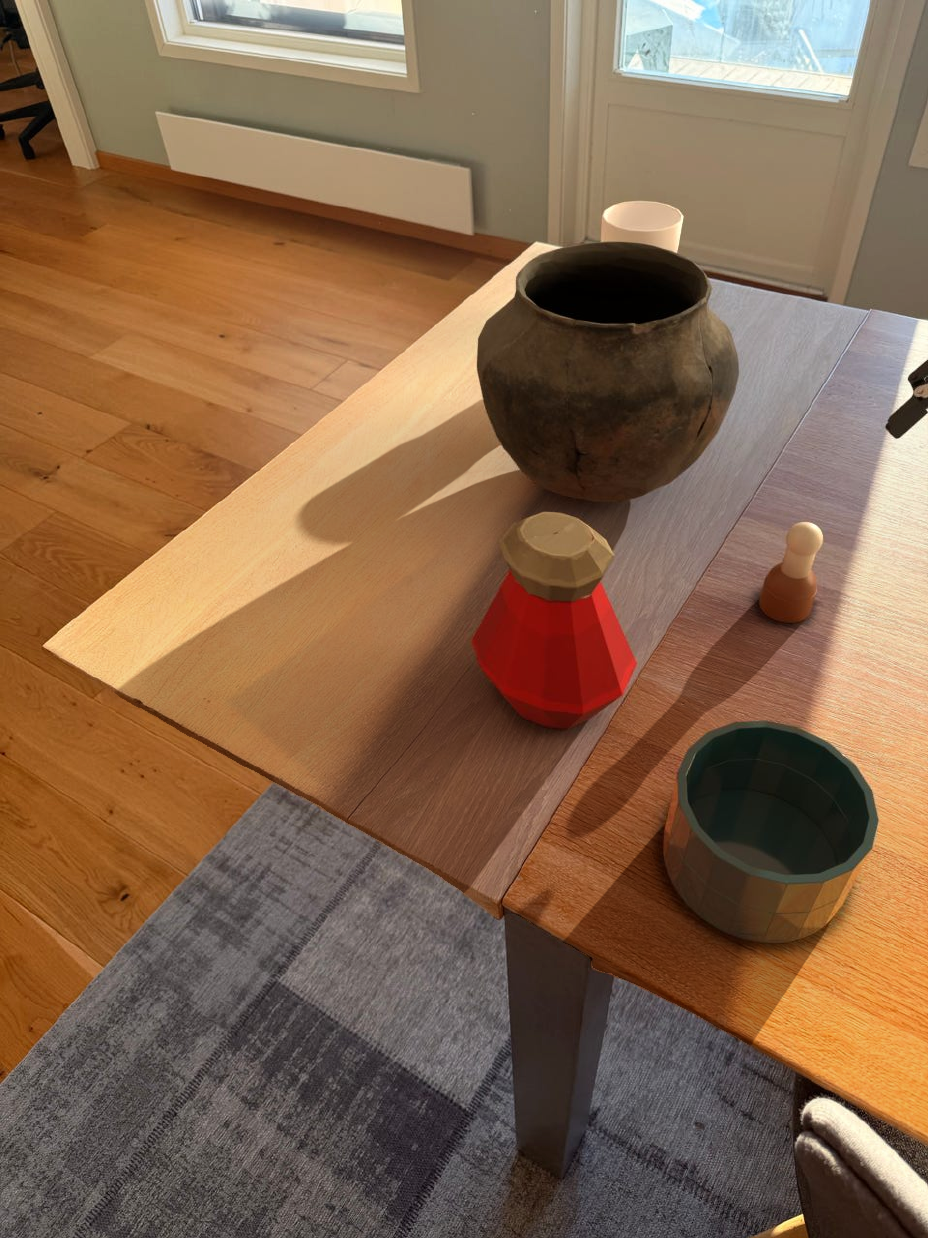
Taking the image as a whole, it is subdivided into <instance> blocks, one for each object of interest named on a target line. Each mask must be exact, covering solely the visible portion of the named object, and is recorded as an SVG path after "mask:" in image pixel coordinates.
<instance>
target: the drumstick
mask: <svg viewBox="0 0 928 1238" xmlns="http://www.w3.org/2000/svg"><path fill="white" fill-rule="evenodd" d="M823 543H824V536H823V533H822V530H821V528H820V527H819V526H817V525H816V524H814V523H812V522H809V521H801V522H798V523H795V524H794V525H792V526H791V527H790V528H789V529H788V531H787V533H786V536H785V544H786V548H785V551H784V554H783V558H782V561H780V562H778V563H777V564H775V565H774V566H773V567H772V568H771V569H770V570H769V571H768V573H767V575H766V576H765V578H764V581H763V584H762V588H761V592H760V594H759V595H760V596H759V599H758V605H759V608H760V610H761V612H762V613H763V614H764V615H766V616H767V618H770V619H772V620H774V621H777V622H781V623H787V624H795V623H799V622H802V621H804V620H806V619H807V618H808V617H809V615H810V613H811V610H812V607H813V604H814V602H815V598H816V595H817V592H818V587H817V586H818V582H817V577H816V574H815V573H814V571H813V570H812V567H813V563H814V560H815V557H816V555H817V552H819V550H820V549H821V547H822V545H823Z"/></svg>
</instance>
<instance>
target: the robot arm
mask: <svg viewBox="0 0 928 1238" xmlns="http://www.w3.org/2000/svg"><path fill="white" fill-rule="evenodd" d="M907 382H908V383H909V385H910V386H911V387H910V388H911V389H912V395H911V397H909V398H908V400H906V401H905V402H904V403H903V404H901V406H899V408H898V409H897V410H895V411H894V412H893V413H892V414H891V415H890V416H889V417H888V419H887V423H886V424H885V426H884V428H885V430H886V431H887V432H888V433H889V435H890V436H892V437H893V438H894V439H895V440H899V439H901V438H902V437H903V436H904V435H905V434H906V433H907V432H908V431H910V430H911V429H912V428H913V427H914V426H915V425H917V424H918V423H919V422H920V421H921V420H922V419H923V418H924V417H925V416H927V414H928V358H927V359H926V360H925V361H924V362H923V363H921V364H920V365H919V366H918V367H916V368H915V369H914V370H913V371H912V372H911V373H909V375H908V376H907Z"/></svg>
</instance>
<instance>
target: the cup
mask: <svg viewBox="0 0 928 1238" xmlns="http://www.w3.org/2000/svg"><path fill="white" fill-rule="evenodd" d="M683 221H684V215H683V214H682V212H681V211H680V210H679V209H678V208H677V207H674V206H672V205H670V204H666V203H662V202H658V201H649V200H648V201H646V200H635V201H634V200H633V201H624V202H623V201H622V202H620V203H615V204H613V205H611V206H609V207H608V208H606V209H604V210H603V213H602V216H601V226H600V227H601V230H600V231H601V232H600V242H607V241H610V242H633V243H642V244H647V245H652V246H656V247H660V248H663V249H667V250H670V251H673V252H675V253H678V249H679V244H680V238H681V233H682V228H683V227H682V226H683Z"/></svg>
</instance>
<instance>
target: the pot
mask: <svg viewBox="0 0 928 1238" xmlns="http://www.w3.org/2000/svg"><path fill="white" fill-rule="evenodd" d="M712 291H713V286H712V283H711V281H710V278H709V277H708V276H707V274H706V273H705V272H704V270H703V269H702V268H701V267H700V265H698V264H697V263H695V262H694V261H692V260H691V259H689V258H687V257H686V256H685V255H682V254H680V253H678V252H677V253H675V252H673V251H670V250H667V249H663V248H660V247H656V246H652V245H647V244H642V243H633V242H610V241H607V242H601V241H597V242H596V241H595V242H585V243H579V244H572V245H567V246H563V247H558V248H556V249H553V250H550V251H546V252H544V253H540V254H539V255H537V256H535V257H534V258H531V259H530V260H529V261H528V262H527V263H526V264H524V266H523V267H522V268H521V269H520V270H519V271H518V273H517V275H516V277H515V292H514V295H513V297H512V298H511V299H510V300H509V301H508V302H507V303H506V304H505V305H504V306H502V307H501V308H500V309H499V310H497V311H496V312H494V314H493V315H492V316H490V317H489V318H488V319H487V320H486V321H485V323H484V325H483V327H482V329H481V331H480V333H479V336H478V337H477V348H476V350H477V353H476V373H477V377H478V382H479V386H480V391H481V396H482V401H483V405H484V409H485V412H486V415H487V418H488V419H489V422H490V424H491V426H492V430H493V431H494V435H495V437H496V439H497V440H498V442H499V444H500V446H501V447H502V449H503V450H504V451H505V452H506V453H507V454H508V455H509V457H510V458H511V459H512V461H513V462H514V463H515V465H516V467H517V468H518V469H519V470H520V471H521V473H523V474H524V475H525V476H526V477H527V478H528V479H529V480H530V481H531V482H533V483H535V484H536V485H538V486H540V487H542V488H543V489H545V490H547V491H550V492H552V493H555V494H556V495H559V496H563V497H568V498H572V499H577V500H578V499H579V500H582V501H583V500H584V501H589V502H596V503H615V502H616V503H617V502H624V501H629V500H636V499H638V498H640V497H642V496H645V495H647V494H650V493H651V492H653V491H655V490H657V489H659V488H662V487H665V486H667V485H669V484H670V483H672V482H673V481H675V480H676V479H677V478H678V477H679V476H681V475H682V474H684V473H685V472H686V471H687V470H688V469H689V468H690V467H691V466H692V465H694V463H695V462H696V461H697V460H698V459H699V458H700V457H701V456H702V454H703V453H704V452H705V451H706V450H707V448H708V447H709V445H710V444H711V443H712V441H713V440H714V439H715V437H716V436H717V434H718V433H719V431H720V428H721V426H722V424H723V422H724V420H725V417H726V416H727V414H728V411H729V409H730V406H731V404H732V401H733V398H734V396H735V394H736V391H737V390H736V389H737V385H738V380H739V376H740V366H739V365H740V362H739V356H738V351H737V348H736V344H735V341H734V337H733V334H732V333H731V331H730V328H729V326H728V325H727V324H726V323H725V322H724V321H723V320H722V319H721V318H719V316H718V315H716V314H715V312H713V310H711V309H710V308H709V301H710V297H711V294H712Z"/></svg>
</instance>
